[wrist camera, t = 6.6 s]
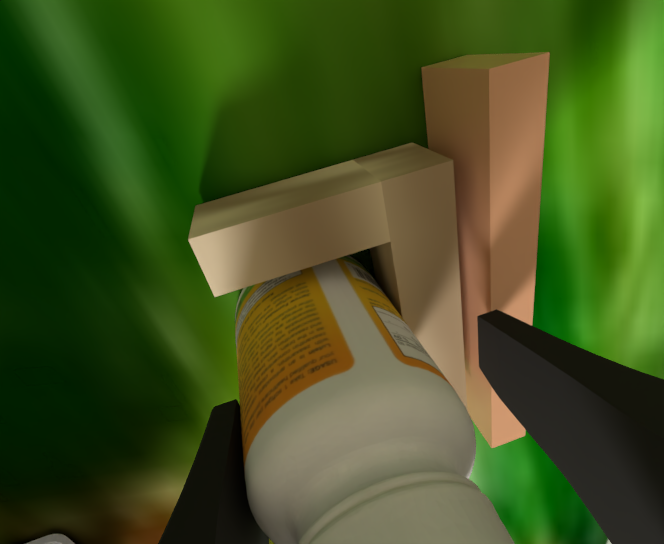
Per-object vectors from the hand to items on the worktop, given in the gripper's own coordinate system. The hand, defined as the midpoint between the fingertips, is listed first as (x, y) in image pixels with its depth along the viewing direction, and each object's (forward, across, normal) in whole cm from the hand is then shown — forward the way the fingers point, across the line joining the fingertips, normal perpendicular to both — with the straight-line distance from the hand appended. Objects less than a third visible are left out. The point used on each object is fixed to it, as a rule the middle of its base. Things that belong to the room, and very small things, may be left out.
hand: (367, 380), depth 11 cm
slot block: (+4, 0, 0) cm, 4 cm away
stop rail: (+4, -5, 0) cm, 7 cm away
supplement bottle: (+5, +1, 0) cm, 5 cm away
